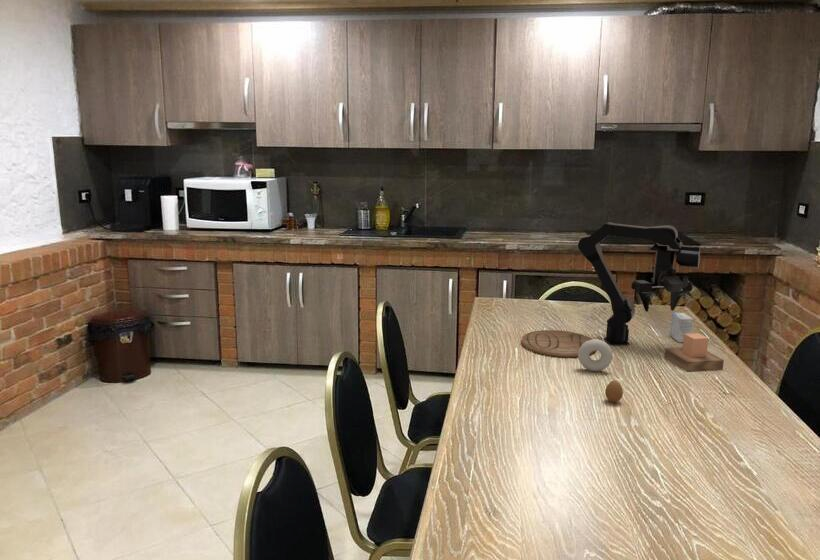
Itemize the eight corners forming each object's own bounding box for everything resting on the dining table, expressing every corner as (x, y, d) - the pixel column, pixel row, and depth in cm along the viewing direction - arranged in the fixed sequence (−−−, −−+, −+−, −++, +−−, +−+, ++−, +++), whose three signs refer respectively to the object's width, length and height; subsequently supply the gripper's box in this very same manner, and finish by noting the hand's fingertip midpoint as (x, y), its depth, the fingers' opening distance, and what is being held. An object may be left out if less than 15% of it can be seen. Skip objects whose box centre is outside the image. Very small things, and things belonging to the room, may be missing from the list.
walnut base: (686, 371, 192) (687, 361, 191) (664, 357, 204) (665, 348, 203) (722, 369, 194) (723, 360, 193) (698, 356, 205) (699, 347, 205)
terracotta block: (691, 357, 195) (693, 338, 194) (681, 351, 200) (684, 333, 199) (706, 356, 196) (708, 338, 195) (696, 351, 201) (698, 333, 200)
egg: (600, 399, 170) (602, 378, 169) (614, 397, 172) (616, 376, 171) (611, 406, 166) (613, 384, 165) (625, 404, 168) (627, 382, 167)
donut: (577, 371, 191) (579, 339, 188) (576, 367, 194) (579, 336, 192) (611, 374, 188) (614, 342, 186) (610, 370, 192) (613, 339, 190)
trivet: (590, 336, 225) (590, 331, 225) (604, 361, 201) (604, 355, 200) (519, 333, 227) (519, 328, 227) (524, 357, 203) (524, 351, 203)
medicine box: (690, 343, 219) (693, 318, 217) (677, 342, 219) (680, 318, 217) (681, 335, 226) (684, 312, 224) (669, 335, 226) (671, 312, 224)
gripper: (650, 270, 197) (646, 318, 200) (705, 269, 200) (699, 316, 203) (632, 263, 207) (628, 309, 211) (684, 262, 211) (679, 307, 214)
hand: (659, 310), depth 210 cm, fingers open, 9 cm apart
